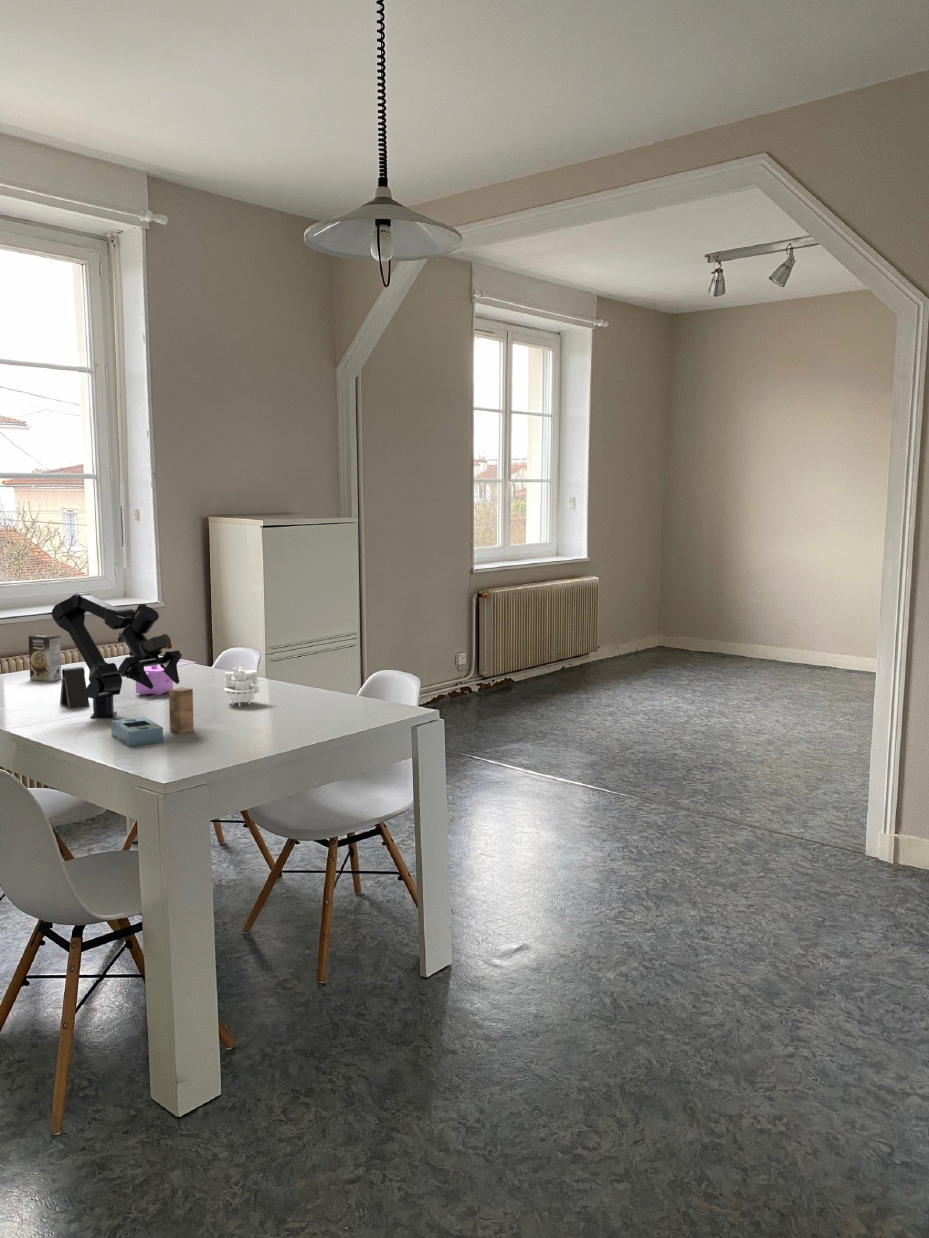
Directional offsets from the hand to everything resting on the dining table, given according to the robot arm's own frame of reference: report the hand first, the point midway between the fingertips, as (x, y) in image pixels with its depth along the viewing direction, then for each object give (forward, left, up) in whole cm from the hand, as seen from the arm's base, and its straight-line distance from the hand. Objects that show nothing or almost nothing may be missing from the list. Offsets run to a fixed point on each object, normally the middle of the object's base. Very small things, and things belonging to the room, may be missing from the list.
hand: (165, 685), depth 262 cm
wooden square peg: (+4, +5, -12) cm, 14 cm away
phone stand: (-37, -32, -13) cm, 51 cm away
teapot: (-54, -9, -13) cm, 56 cm away
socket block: (+11, -6, -12) cm, 18 cm away
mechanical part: (-31, +20, -13) cm, 39 cm away
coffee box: (-86, -52, -13) cm, 101 cm away
